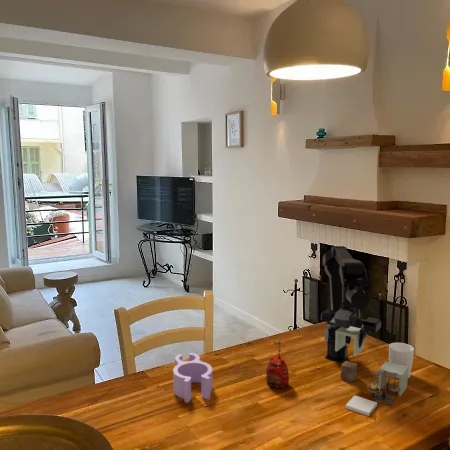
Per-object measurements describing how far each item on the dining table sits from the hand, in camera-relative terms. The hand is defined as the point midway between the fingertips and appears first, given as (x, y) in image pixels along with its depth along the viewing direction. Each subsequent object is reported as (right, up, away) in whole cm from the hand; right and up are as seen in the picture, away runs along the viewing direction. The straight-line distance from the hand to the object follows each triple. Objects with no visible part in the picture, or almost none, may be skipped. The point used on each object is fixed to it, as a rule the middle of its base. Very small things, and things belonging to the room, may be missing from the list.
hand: (349, 344), depth 151 cm
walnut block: (0, -12, +2) cm, 12 cm away
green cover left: (0, -2, 0) cm, 2 cm away
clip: (-52, -13, -2) cm, 54 cm away
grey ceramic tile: (-1, -14, -16) cm, 21 cm away
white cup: (+18, -12, +5) cm, 22 cm away
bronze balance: (+7, -14, -12) cm, 20 cm away
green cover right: (+13, -13, -5) cm, 19 cm away
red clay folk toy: (-24, -13, -2) cm, 27 cm away
